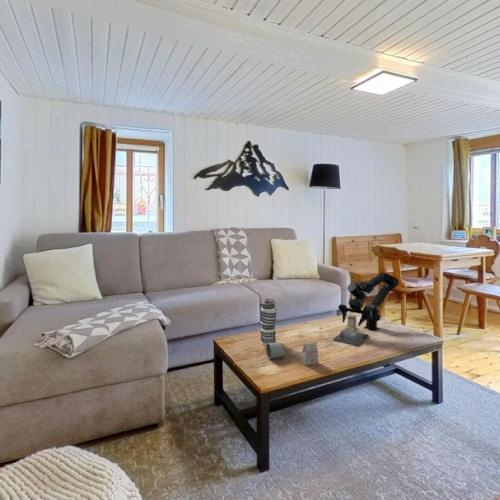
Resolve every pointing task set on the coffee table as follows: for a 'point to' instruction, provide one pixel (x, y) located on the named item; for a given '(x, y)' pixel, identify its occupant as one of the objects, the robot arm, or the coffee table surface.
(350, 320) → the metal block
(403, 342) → the coffee table surface
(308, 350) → the small box
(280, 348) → the ceramic mug
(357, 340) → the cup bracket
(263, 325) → the decorative candle
